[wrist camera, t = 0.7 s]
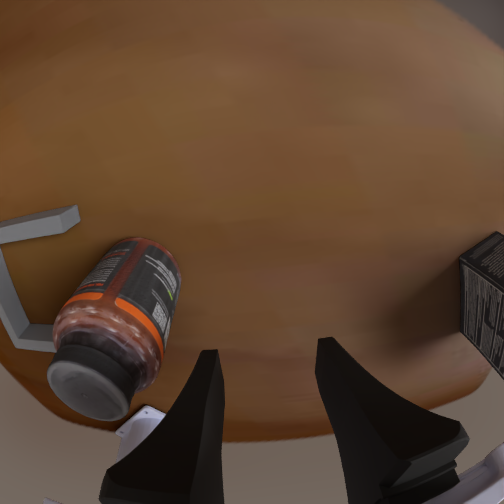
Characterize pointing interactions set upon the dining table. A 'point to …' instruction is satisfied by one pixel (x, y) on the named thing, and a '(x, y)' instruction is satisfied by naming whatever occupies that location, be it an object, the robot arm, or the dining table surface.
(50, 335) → the grey u-shaped bracket
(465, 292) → the small box
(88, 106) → the dining table surface
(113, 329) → the supplement bottle
